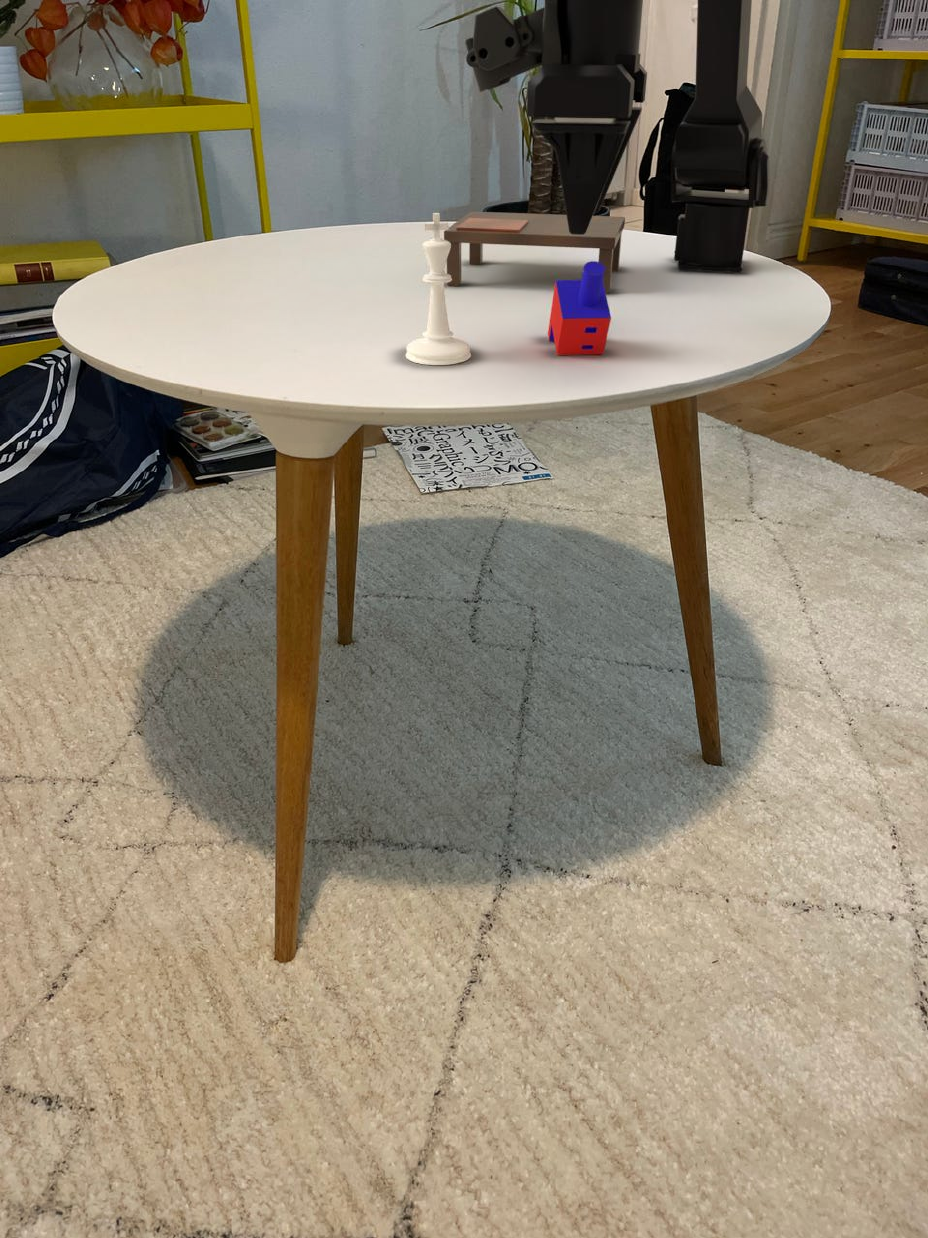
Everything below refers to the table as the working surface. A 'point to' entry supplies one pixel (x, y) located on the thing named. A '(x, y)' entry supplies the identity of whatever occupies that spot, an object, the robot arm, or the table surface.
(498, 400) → the table surface
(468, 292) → the table surface
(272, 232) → the table surface
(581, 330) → the toy building block
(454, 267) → the miniature wooden table
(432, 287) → the chess piece
